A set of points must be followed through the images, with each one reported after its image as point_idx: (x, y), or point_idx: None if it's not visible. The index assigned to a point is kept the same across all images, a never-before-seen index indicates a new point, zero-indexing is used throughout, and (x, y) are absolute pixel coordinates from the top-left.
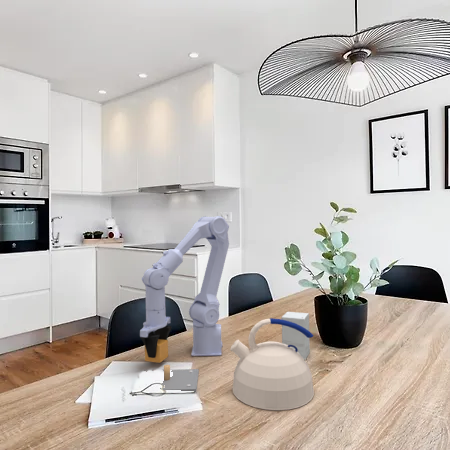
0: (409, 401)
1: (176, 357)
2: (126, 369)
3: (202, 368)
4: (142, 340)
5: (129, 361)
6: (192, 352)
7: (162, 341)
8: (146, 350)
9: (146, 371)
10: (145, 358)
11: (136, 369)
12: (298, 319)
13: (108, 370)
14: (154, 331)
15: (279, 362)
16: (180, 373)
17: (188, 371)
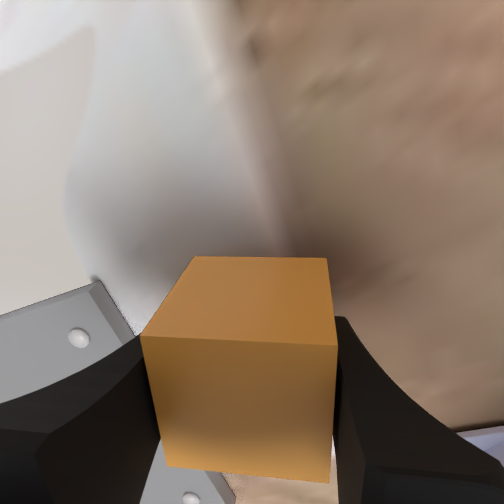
0: None
1: (401, 363)
2: (100, 151)
3: (285, 501)
4: (28, 398)
5: (228, 70)
6: (479, 440)
7: (273, 456)
8: (141, 332)
9: (80, 332)
10: (189, 268)
11: (133, 218)
12: None
13: (15, 20)
14: (354, 438)
15: None
16: (155, 468)
17: (191, 488)
